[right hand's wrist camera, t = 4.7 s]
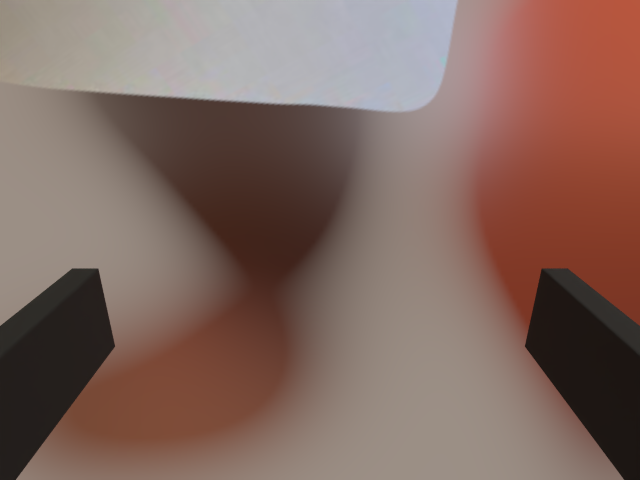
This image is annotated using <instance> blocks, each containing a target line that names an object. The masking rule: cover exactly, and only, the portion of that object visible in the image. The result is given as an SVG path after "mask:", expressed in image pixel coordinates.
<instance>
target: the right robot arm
mask: <svg viewBox="0 0 640 480" xmlns="http://www.w3.org/2000/svg"><path fill="white" fill-rule="evenodd" d="M114 347H115V344H114V339H113V335H112V330H111V325H110V321H109V316H108V312H107V307H106V302H105V298H104V293H103V288H102V284H101V279H100V274H99V270H98V269H71V270H70V271H69V272H67V273H66V274H65V275H64V276H62V277H61V278H60V279H59V280H57V281H56V282H55V283H54V284H52V285H51V286H50V287H49V288H47V289H46V290H45V291H44V292H42V293H41V294H40V295H39V296H37V297H36V298H35V299H34V300H32V301H31V302H30V303H29V304H27V305H26V306H25V307H24V308H22V309H21V310H20V311H19V312H17V313H16V314H15V315H14V316H12V317H11V318H10V319H8V320H7V321H6V322H5V323H3V324H2V325H1V326H0V480H16V479H17V477H18V476H19V475H20V473H21V472H22V471H23V469H24V468H25V467H26V465H27V464H28V462H29V461H30V460H31V459H32V457H33V456H34V454H35V453H36V452H37V450H38V449H39V448H40V446H41V445H42V444H43V442H44V441H45V440H46V438H47V437H48V436H49V434H50V433H51V432H52V430H53V429H54V428H55V426H56V425H57V424H58V422H59V421H60V420H61V418H62V417H63V415H64V414H65V413H66V412H67V410H68V409H69V408H70V406H71V405H72V403H73V402H74V401H75V399H76V398H77V397H78V395H79V394H80V393H81V391H82V390H83V389H84V387H85V386H86V385H87V383H88V382H89V381H90V379H91V378H92V377H93V375H94V374H95V373H96V371H97V370H98V369H99V367H100V366H101V364H102V363H103V362H104V361H105V359H106V358H107V356H108V355H109V354H110V352H111V351H112V350H113V348H114ZM525 347H526V348H527V350H528V351H529V352H530V354H531V355H532V356H533V358H534V359H535V360H536V362H537V363H538V365H539V366H540V367H541V369H542V370H543V371H544V373H545V374H546V375H547V377H548V378H549V379H550V381H551V382H552V383H553V385H554V386H555V387H556V389H557V390H558V391H559V393H560V394H561V395H562V397H563V398H564V399H565V401H566V402H567V403H568V405H569V406H570V407H571V409H572V410H573V412H574V413H575V414H576V416H577V417H578V418H579V420H580V421H581V422H582V424H583V425H584V426H585V428H586V429H587V430H588V432H589V433H590V434H591V436H592V437H593V438H594V440H595V441H596V442H597V444H598V445H599V446H600V448H601V449H602V450H603V452H604V453H605V454H606V456H607V457H608V459H609V460H610V461H611V462H612V464H613V465H614V466H615V468H616V469H617V471H618V472H619V473H620V475H621V476H622V477H623V479H624V480H640V326H639V325H638V324H637V323H635V322H634V321H633V320H632V319H630V318H629V317H628V316H626V315H625V314H624V313H623V312H621V311H620V310H619V309H618V308H616V307H615V306H614V305H613V304H611V303H610V302H609V301H608V300H606V299H605V298H604V297H603V296H601V295H600V294H599V293H598V292H596V291H595V290H594V289H593V288H591V287H590V286H589V285H588V284H586V283H585V282H584V281H583V280H581V279H580V278H579V277H578V276H576V275H575V274H574V273H572V272H571V271H570V270H569V269H542V270H541V274H540V279H539V284H538V288H537V293H536V298H535V303H534V307H533V312H532V316H531V321H530V325H529V330H528V335H527V339H526V344H525Z"/></svg>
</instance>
